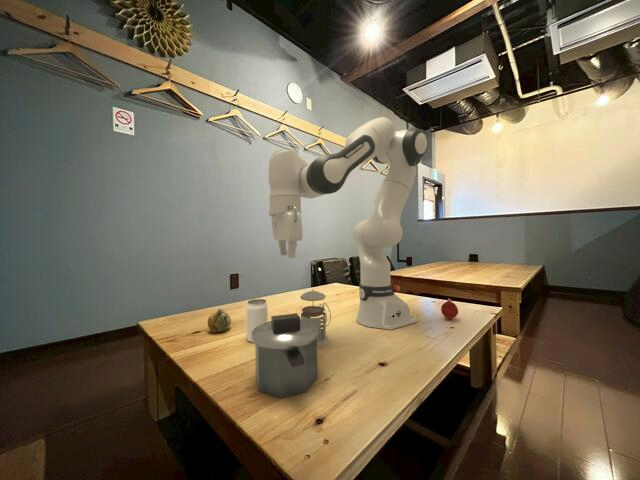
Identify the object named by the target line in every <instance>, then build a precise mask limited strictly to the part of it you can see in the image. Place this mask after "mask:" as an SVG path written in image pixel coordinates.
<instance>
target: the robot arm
mask: <svg viewBox="0 0 640 480" xmlns="http://www.w3.org/2000/svg"><path fill="white" fill-rule="evenodd" d="M344 143H345V146H344V148H342V149H341V150H339V151H338V152H334V153H326V154H321V155H320V156H318V157H317V158H315V159H314V160H313V161H312V162H309V161H307V160H306V159H304V158H303V157H302V156H300V155H299V154H298V152H297V151H296V150H295V149H291V148H287V149H280V150H278V151H275V152H274V153H273V154H271V156H270V158H269V162H268V185H269V187H270V188H269V189H270V191H269V196H268V197H269V198H268V199H269V212H268V213H269V217H270V218H271V227H272V235H273V239H274V241H278V246H279V255H280V256H282V257H283V256H284V257H285V256H287V258H288V259H295V258H296V251H297V250H296V249H297V244H298V243H297V242H298V241H299V242H300V241H302V239H303V236H304V235H303V223H302V222H303V221H302V215H301V214H302V201H301V199H302V198H305V199H317V198H319V197H321V196H325V195H330V194H334V193H336V192H338V191H340V189H342V188H343V186H344V184H345V182H346V180H347V178H348V176H349V175H350V173H351V172H352V171H353V170H355V169H356V168H357V167H358V166H359V165H363V164H365V163H367V162H370V161H373V162H375V163H377V164H382V165H384V164H389V169H388V171H387V173H386V174H385V177H384V179H383V181H382V183H381V185H380V186H379V188H378V189H379V190H378V191H377V193H376V195H375V198H374V210H373V214H372V217H370V218H369V219H364V220H363V219H362V220H361V221H360V222H358V223H357V224H356V225H354V227H353V230H352V237H353V239H354V241H355V243H356V247H357V248H356V249H357V253H358V258H359V263H360V264H359V265H360V266H359V267H360V269H359V270H360V271H359V272H360V283H359V289H358V290H359V292H358V293H359V307H358V312H357V317H356V322H357V323H358V324H359V325H363V326H365V327H369V328H377V329H383V330H390V331H391V330H394V329H398V328H401V327H405V326H408V325H412V324H414V323H415V324H416V323H417V318H416V317H415V316H413V315H411V313H410V312H411V311H410V308H409V305H408V303H407V302H405V301H404V300H403V299H402V298H400V297H399V296H398V295H396V293H395V291H396V292H400V291H401V287H400V286H399V285H392V284H391V262H390V261H389V260H388V258H387V255H386V252H385V249H387V248H390V247H394V246H396V245H398V243H400V241H401V239H402V237H403V228H402V225H401V219H402V218H401V217H402V212H403V209H404V206H405V204H406V203H407V200H408V198H409V195H410V193H411V191H412V188H413V186H414V183H415V179H416V174H417V169H416V166H417V165H418V164H419V163H420V162H421V161H422V159H423V157H424V156H425V155H426V154H425V153H427V149H428V146H429V139H428V136H427V134H426V132H425V131H424V130H423V129H422V128H421V129H420V128H409V129H401V130H397V131H396V127H395V125H394V123H393V121H392V120H390V119H389V118H388V117H384V116H382V117H381V116H380V117H377V118H374V119H372V120H369V121H367V122H365V123H363V124H362V125H360V126H358V127H357V128H356V129H355V130H354V131H352V132H351V133H350V135H348V137H347V138H345V142H344Z"/></svg>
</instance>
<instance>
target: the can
mask: <svg viewBox="0 0 640 480" xmlns="http://www.w3.org/2000/svg"><path fill="white" fill-rule="evenodd" d="M268 311H269V310H268V304H267V300H266V299H263V298H259V299H258V298H255V299H250V300H248V301H247V306H246V340H247V341H248V342H250V343H252V344H254V343H253V341H252V331H253V329H254V328H256V327H257V326H259V325H261V324H263V323H266V322H269V321H268V319H269V317H268Z"/></svg>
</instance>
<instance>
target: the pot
mask: <svg viewBox="0 0 640 480" xmlns="http://www.w3.org/2000/svg"><path fill="white" fill-rule="evenodd" d="M255 378H256V383H257V384H256V385H257V389H258V392H259V393H262V394H265V395H268V396H271V397H275V398H277V399H284V398H288V397H293V396H296V395H301V394H305V393H307V392H308V391H309V390H310V388H312V386H313V385H314V383H315V382H316V381H317V380H318V346H317V339H316V341H314V342H313V343H311V344H309V345H307V346H304V347H301V348H296V349H290V350H271V349H265V348H262V347H259V346H257V345H255Z"/></svg>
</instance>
